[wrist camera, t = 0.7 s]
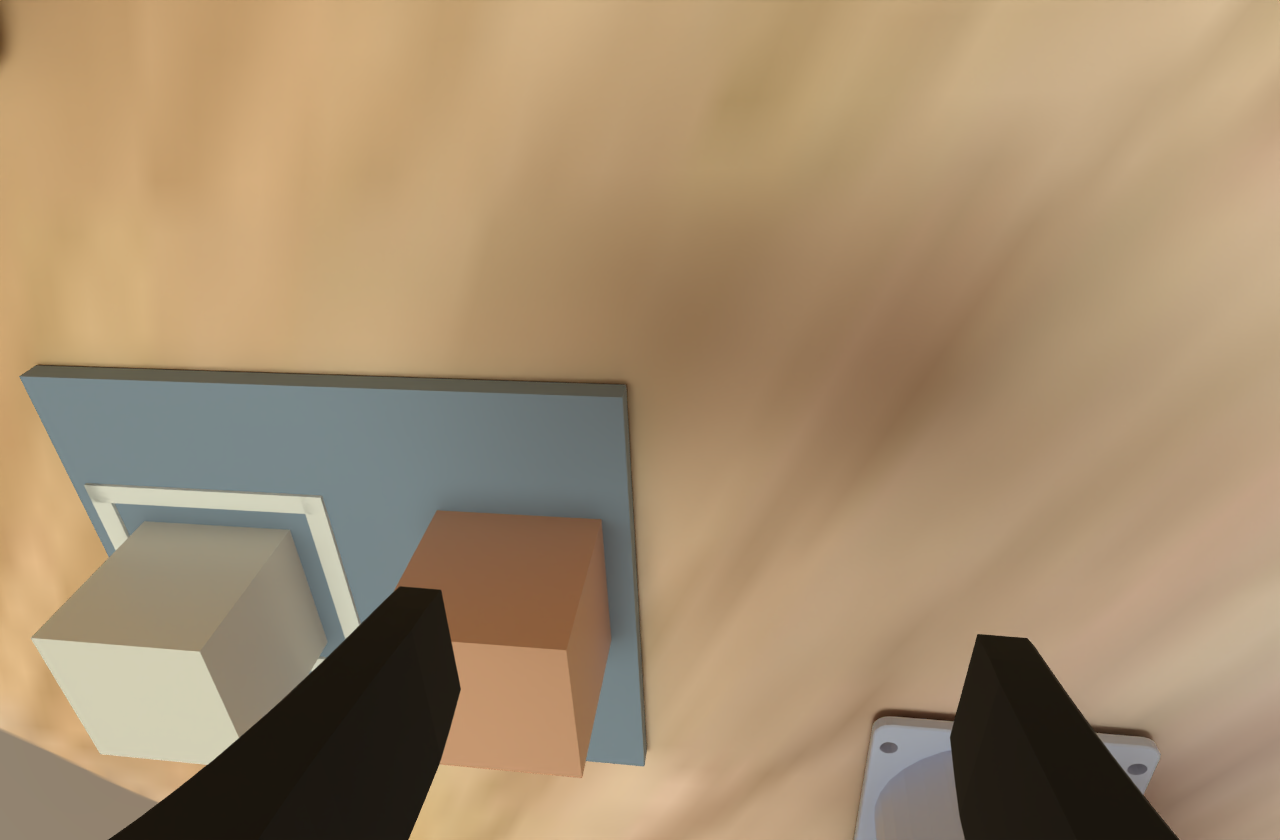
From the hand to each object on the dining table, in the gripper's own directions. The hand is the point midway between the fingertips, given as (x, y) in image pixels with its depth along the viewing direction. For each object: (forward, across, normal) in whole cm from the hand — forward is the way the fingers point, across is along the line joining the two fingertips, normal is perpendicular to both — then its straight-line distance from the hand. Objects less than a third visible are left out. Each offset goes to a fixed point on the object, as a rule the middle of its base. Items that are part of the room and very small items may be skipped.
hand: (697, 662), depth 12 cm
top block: (+9, +5, +7) cm, 13 cm away
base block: (+9, +14, +8) cm, 19 cm away
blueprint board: (+10, +10, +8) cm, 16 cm away
